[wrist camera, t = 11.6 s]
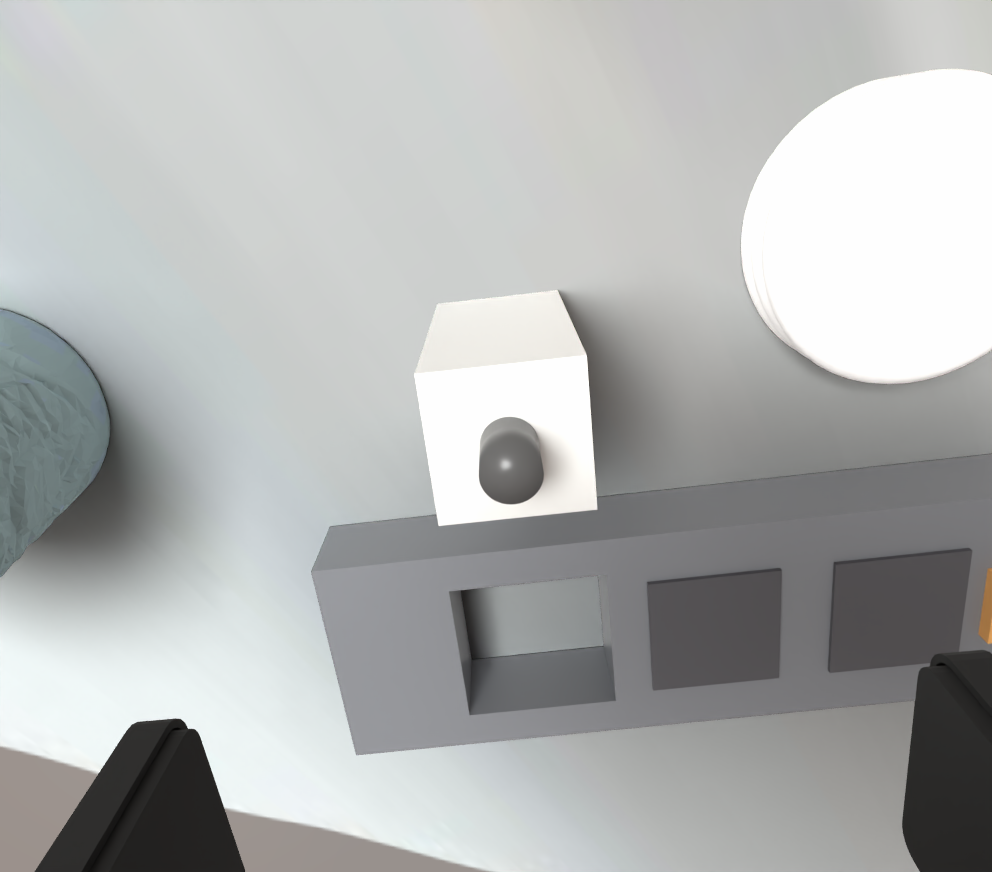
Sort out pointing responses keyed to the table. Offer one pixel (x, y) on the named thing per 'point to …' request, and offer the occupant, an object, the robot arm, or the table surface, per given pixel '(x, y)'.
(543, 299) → the charger
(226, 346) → the table surface
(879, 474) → the power strip
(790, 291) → the coaster
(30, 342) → the blue-grey tapered cup
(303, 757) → the table surface
